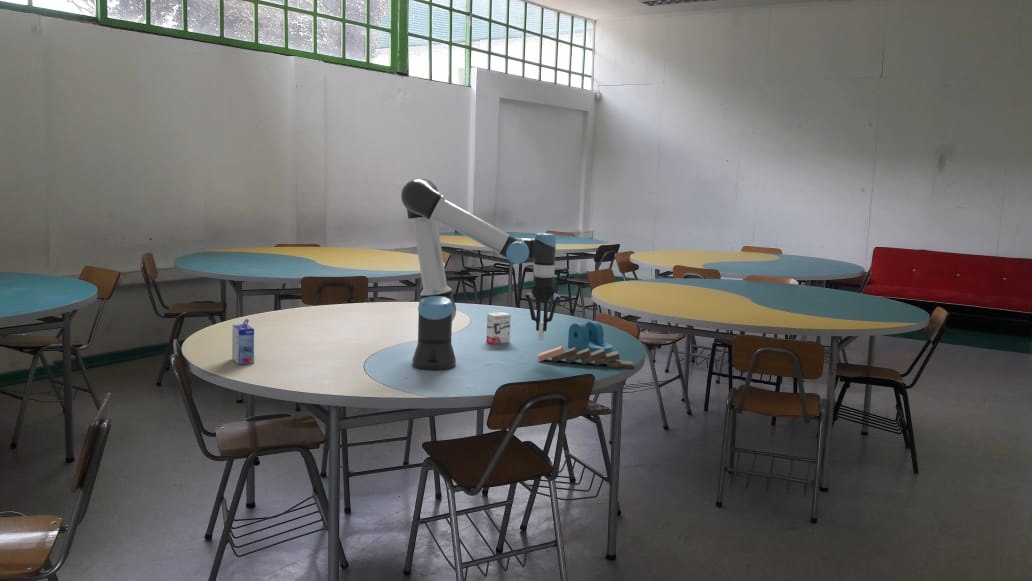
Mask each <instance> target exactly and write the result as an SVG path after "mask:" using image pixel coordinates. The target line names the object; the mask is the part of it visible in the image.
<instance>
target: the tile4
mask: <svg viewBox="0 0 1032 581" xmlns="http://www.w3.org/2000/svg"><path fill="white" fill-rule="evenodd" d="M605 356H606V352H605V350H604V348H602V349H599V350H597V351H594V352H592V353H591V355H590V356H588V357H585V358H583V359H580V361H581V363H582V365H583V366H584V365H587V364H589V363H593V362H595V360H597V359H600V358H602V357H605Z"/></svg>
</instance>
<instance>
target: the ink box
mask: <svg viewBox="0 0 1032 581" xmlns="http://www.w3.org/2000/svg"><path fill="white" fill-rule="evenodd" d="M511 316H512V315H511V314H510V313H508V312H506V311H505V312H504V311H500V312H499V311H498V312H489V313H487V314H486V341H485V342H486V343H488V344H491V345H497V344H498V343H499V344H506V343H507V344H508V343H510V342H511V318H512V317H511Z"/></svg>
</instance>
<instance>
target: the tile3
mask: <svg viewBox="0 0 1032 581" xmlns="http://www.w3.org/2000/svg"><path fill="white" fill-rule="evenodd" d="M577 351H578V350H577ZM590 355H591V351H590V348H587V349H584V350H581V351H578V352H577V355H574V356H571V357H568V358H565V359H564V360H565V362H566V364H571V363H573V362H577V361H579V360H580V361H581V359H583V358H585V357H588V356H590Z"/></svg>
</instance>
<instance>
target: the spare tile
mask: <svg viewBox="0 0 1032 581" xmlns="http://www.w3.org/2000/svg"><path fill="white" fill-rule="evenodd" d="M564 351H565V350H564V347H563V345H560V346H557V347H554V348H551V349H549V350H546V351H542V352H540V353H539V354H538V355H537V358H538V361H539V362H542V361H545V360H548V359H552V358H551V357H554V356H557V355H560V354H563V352H564Z"/></svg>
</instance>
